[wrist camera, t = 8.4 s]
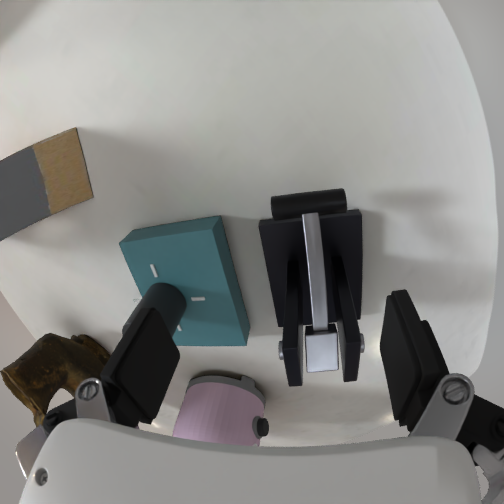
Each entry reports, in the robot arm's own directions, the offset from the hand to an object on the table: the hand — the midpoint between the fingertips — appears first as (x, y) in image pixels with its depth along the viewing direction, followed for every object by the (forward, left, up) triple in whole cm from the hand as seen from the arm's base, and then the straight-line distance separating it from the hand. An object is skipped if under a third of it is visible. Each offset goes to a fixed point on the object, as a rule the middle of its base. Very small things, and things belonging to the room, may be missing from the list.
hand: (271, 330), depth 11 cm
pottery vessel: (+23, -36, -16) cm, 45 cm away
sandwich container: (-8, -27, -16) cm, 32 cm away
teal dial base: (+8, -11, -16) cm, 21 cm away
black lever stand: (+8, +2, -16) cm, 17 cm away
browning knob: (+8, -13, -13) cm, 20 cm away
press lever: (+4, +2, -9) cm, 10 cm away
